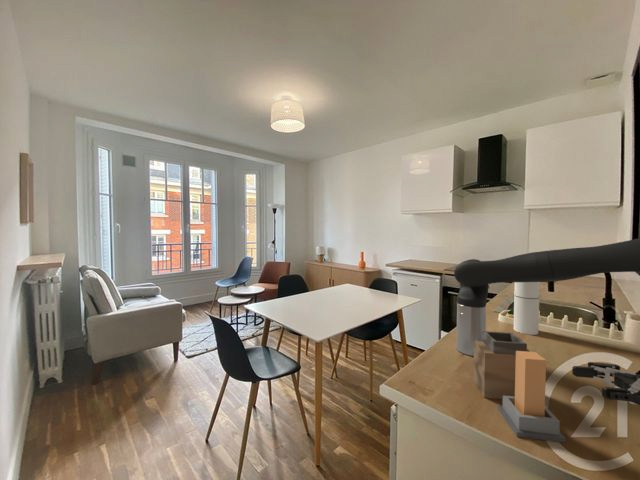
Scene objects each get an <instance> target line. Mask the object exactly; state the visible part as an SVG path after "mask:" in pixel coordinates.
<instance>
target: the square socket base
mask: <svg viewBox="0 0 640 480" xmlns="http://www.w3.org/2000/svg"><path fill="white" fill-rule="evenodd" d="M516 351H527V352H531V351H530V350H529V349H528V344H527V343H526V342H525V341H524V340H522V339H521V338H520V337H518V336H517V335H515V334H514V333H513V332H502V331H490V330H489V331H487V330H486V331H483V340H482V341H474V356H473V370H472V371H473V372H472V373H473V374H472V377H473V378H472V381H473V383H474V384H475V386H476V387H477V389H478V390H479V392H480V394H481V395H482V397H483V398H486V399H494V400H495V399H497V400H503V396H513V397H515V367H516Z"/></svg>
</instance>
